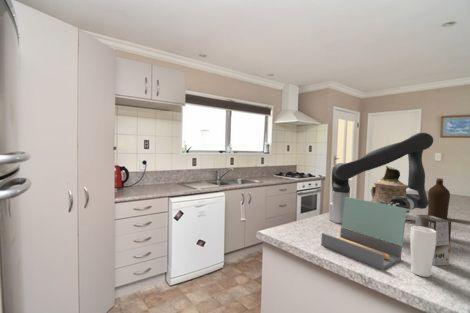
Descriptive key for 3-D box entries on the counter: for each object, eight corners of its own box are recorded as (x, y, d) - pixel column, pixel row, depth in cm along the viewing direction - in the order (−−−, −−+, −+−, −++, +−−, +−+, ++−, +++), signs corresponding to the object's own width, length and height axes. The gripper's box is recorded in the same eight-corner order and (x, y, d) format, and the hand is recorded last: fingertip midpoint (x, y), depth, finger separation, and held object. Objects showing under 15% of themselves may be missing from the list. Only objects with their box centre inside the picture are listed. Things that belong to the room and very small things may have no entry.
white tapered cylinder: (435, 281, 75) (438, 234, 74) (409, 274, 78) (411, 229, 78) (431, 272, 81) (434, 228, 80) (407, 266, 84) (409, 224, 84)
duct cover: (345, 196, 109) (346, 196, 110) (341, 227, 109) (342, 227, 109) (405, 208, 90) (406, 208, 90) (401, 245, 89) (402, 245, 90)
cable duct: (321, 244, 101) (321, 233, 101) (341, 238, 109) (342, 227, 109) (382, 269, 81) (382, 255, 81) (401, 259, 89) (401, 246, 89)
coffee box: (450, 265, 86) (453, 221, 85) (433, 265, 85) (436, 221, 85) (427, 254, 95) (430, 214, 94) (412, 254, 94) (415, 214, 94)
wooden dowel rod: (334, 241, 103) (334, 236, 103) (337, 240, 104) (337, 235, 104) (387, 261, 85) (388, 255, 85) (390, 259, 87) (390, 254, 87)
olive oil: (439, 220, 146) (442, 179, 145) (422, 215, 156) (424, 177, 156) (453, 219, 148) (455, 179, 148) (435, 214, 159) (437, 177, 158)
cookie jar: (421, 221, 142) (424, 168, 141) (380, 220, 142) (383, 166, 141) (394, 210, 167) (397, 165, 166) (359, 209, 167) (361, 164, 166)
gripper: (387, 194, 121) (369, 198, 111) (418, 199, 110) (402, 204, 100) (386, 209, 121) (369, 214, 111) (417, 215, 110) (401, 221, 100)
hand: (385, 209), depth 106 cm, fingers closed
